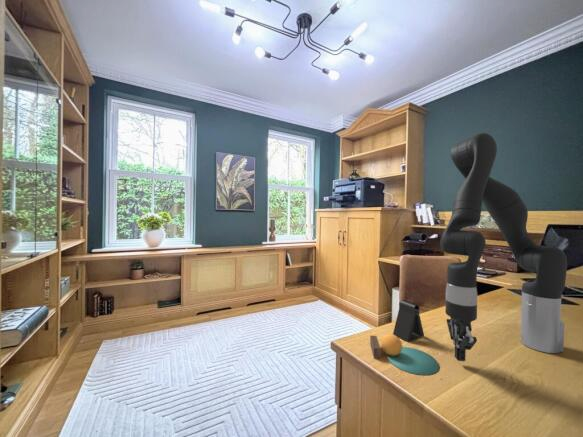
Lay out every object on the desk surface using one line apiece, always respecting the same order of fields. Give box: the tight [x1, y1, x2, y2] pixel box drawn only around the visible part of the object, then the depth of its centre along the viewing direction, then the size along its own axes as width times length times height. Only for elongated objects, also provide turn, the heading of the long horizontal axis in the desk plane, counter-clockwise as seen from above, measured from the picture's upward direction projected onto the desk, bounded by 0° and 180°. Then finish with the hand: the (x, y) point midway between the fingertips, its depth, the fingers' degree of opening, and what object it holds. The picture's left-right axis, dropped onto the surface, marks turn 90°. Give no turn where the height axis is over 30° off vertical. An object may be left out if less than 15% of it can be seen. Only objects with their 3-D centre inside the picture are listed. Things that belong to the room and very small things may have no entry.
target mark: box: [386, 346, 440, 376], centre depth 75 cm, size 14×14×1 cm
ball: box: [380, 333, 403, 356], centre depth 78 cm, size 6×6×6 cm
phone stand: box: [392, 299, 425, 343], centre depth 90 cm, size 9×6×12 cm, turn 118°
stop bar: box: [369, 335, 382, 359], centre depth 80 cm, size 2×8×3 cm, turn 170°
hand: (459, 359), depth 73 cm, fingers closed
